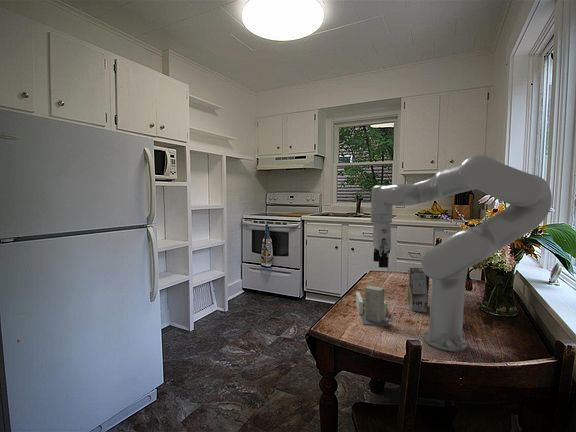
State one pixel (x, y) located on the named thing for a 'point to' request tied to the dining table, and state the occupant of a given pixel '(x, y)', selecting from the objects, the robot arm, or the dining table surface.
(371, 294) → the skincare box
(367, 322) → the mat
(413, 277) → the coffee box
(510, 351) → the dining table surface
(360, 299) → the rack
